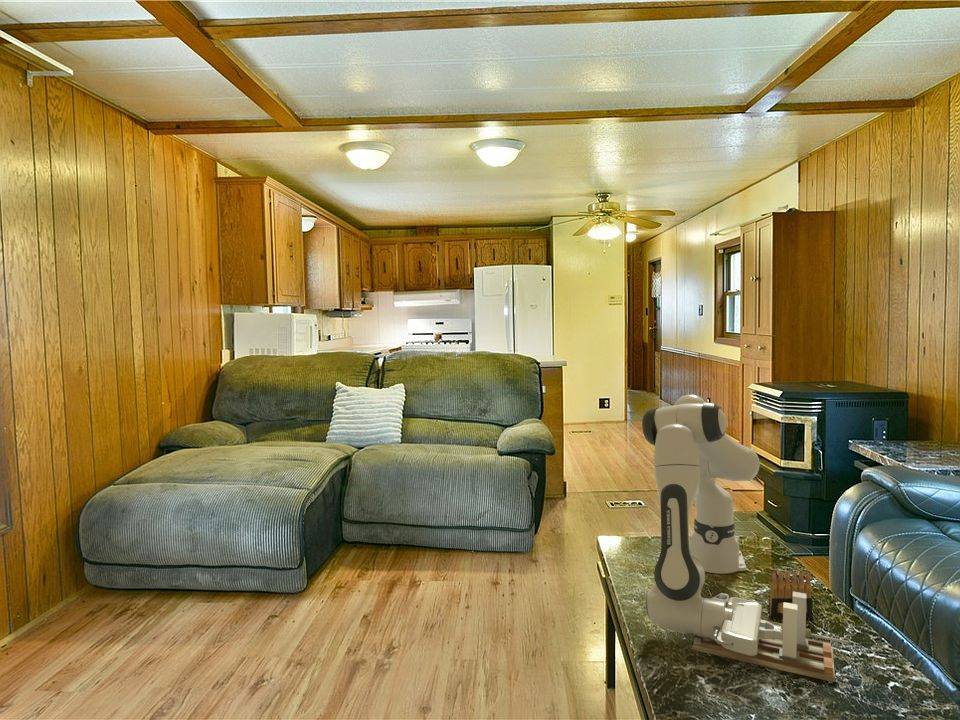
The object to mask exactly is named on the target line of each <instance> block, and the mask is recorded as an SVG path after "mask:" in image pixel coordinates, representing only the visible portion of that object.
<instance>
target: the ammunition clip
mask: <svg viewBox="0 0 960 720" xmlns="http://www.w3.org/2000/svg"><path fill="white" fill-rule="evenodd" d="M791 575H792V576H791V577H790V572H789V571H788V570H787V571H786V572H785V575H783V572H782V571H781V570H780V571H779V573H778V578H777V574H776V572H775V570H773V572H772V575H771V581H770V586H769V587H770V590H769V592H770V593H769V596H768V609H767V610H768V611H767V614H768V616H769V617H770V618H773V619H774V618H775V619H777V618H778V619H779V618H780V619H783V603H784V602H785V603H791V604H793V591H794V592H799V593H805V594H806V619H807V618H808V619H809V618H813V598H812V581H811V580H812V579H811V573H810V571H809V570H807V572H806V574H805V577H804V572H803V571H802V570H800V572H799V574H798V578H797V573H796V571H795V570H793V572H792V574H791ZM784 577H785V578H784ZM804 578H805V579H804Z"/></svg>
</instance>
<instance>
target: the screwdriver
mask: <svg viewBox="0 0 960 720" xmlns="http://www.w3.org/2000/svg"><path fill="white" fill-rule="evenodd" d="M768 622H770V623H772V624H774V625H777V626H781V627H782V628H783V622H782V623H780V622H776V621H768ZM811 631H812V630H811V628H807V627H806V637H805V638H807V639H811V637H813V638H817V639H821V640H827V641H831V642H837V643H841V644H846V645H849V644H850V641H849V640H847V639H846V640H845V639H841V638H836V637H832V636H826V635H821V634H817V633H811ZM811 640H812V639H811Z"/></svg>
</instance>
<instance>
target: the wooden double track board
mask: <svg viewBox="0 0 960 720" xmlns="http://www.w3.org/2000/svg"><path fill="white" fill-rule="evenodd" d="M782 639H783V634H782ZM782 639H781V640H779V639H774V638H773V639H765V640H764V639H760V638H759V643H758V650H757V655H754V656H749V655H745V654H741V653H738V652H735V651H731V650H729V649H726V648H724V647H723V646H722V645H721V644H718V643H717V642H716V641H715V640H713V639H708V638H704V637H700V636H698V635H696V634H694V637H693V640H694V641H693V643H692V651H696V652H699V653H700V652H701V653H704V654H708V653H709V654H710V655H713V654H714V655H713V656H719V657H722V658H726V659H730V660H735V661H740V662H743V663H744V662H745V663H749V664H752V663H753V665H758V666H762V667H766V668H771V669H776V670H780V671H783V672H788V673H792V674H796V675H801V676H806V677H810V678H814V679H818V680H819V679H820V680H823V681H827V682H832V683H835V682H836V674H835V673H836V672H835V662H834V661H835V660H834V651H833V650H834V649H833V647H832V644H831V643H828V642H823V641H820V640H815V639H808V649H806V648H801V647H797V649H796V651H797V652H799V662H795V661H791V660H786V659H782V658H779V650H780V648H782ZM805 639H807V638H805ZM709 654H708V655H709Z"/></svg>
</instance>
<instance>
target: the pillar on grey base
mask: <svg viewBox="0 0 960 720" xmlns="http://www.w3.org/2000/svg"><path fill="white" fill-rule="evenodd" d="M793 604H796V605H797V647H801V648H806V649H808V639H805V637H806V628H807V618H806V594H805V593H799V592H794V591H793Z"/></svg>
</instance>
